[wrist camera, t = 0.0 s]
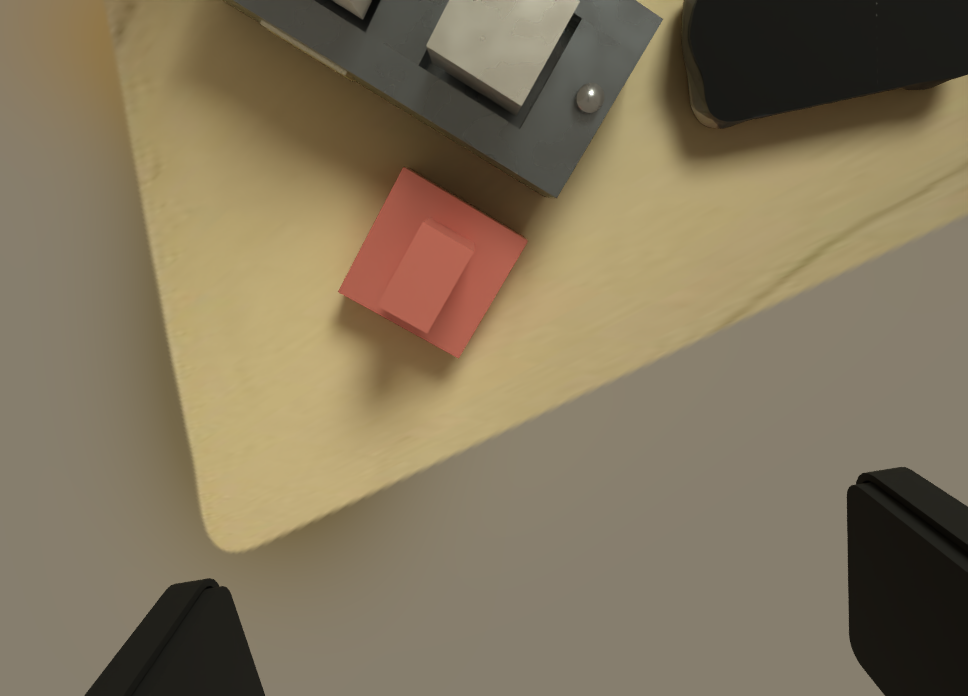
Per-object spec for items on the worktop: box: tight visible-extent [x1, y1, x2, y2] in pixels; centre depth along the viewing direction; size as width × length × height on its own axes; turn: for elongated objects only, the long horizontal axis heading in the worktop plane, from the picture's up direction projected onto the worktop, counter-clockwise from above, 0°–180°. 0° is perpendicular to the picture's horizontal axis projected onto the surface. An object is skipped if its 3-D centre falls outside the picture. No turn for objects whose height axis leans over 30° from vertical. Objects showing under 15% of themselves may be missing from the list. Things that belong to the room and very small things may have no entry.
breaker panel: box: [223, 0, 663, 198], centre depth 30 cm, size 10×22×10 cm, turn 60°
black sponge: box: [682, 0, 968, 129], centre depth 34 cm, size 16×8×4 cm, turn 101°
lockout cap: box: [338, 167, 528, 358], centre depth 35 cm, size 8×8×8 cm
